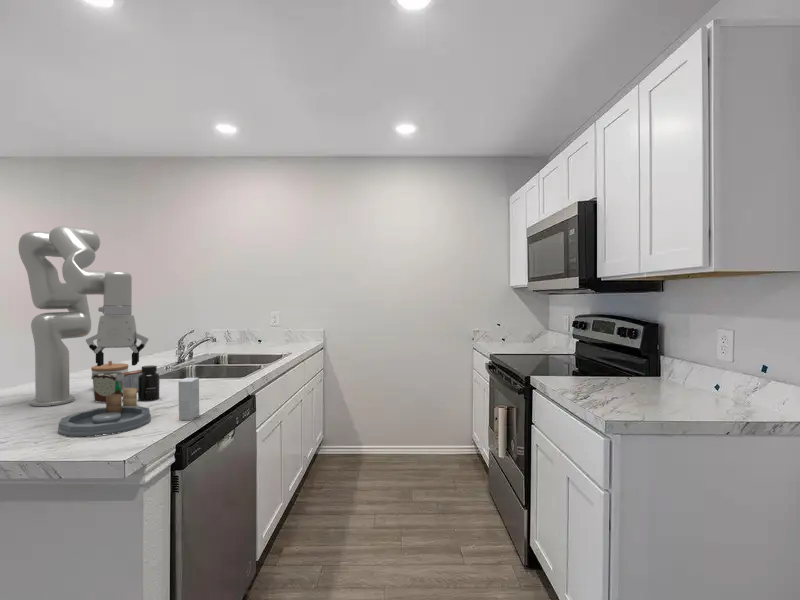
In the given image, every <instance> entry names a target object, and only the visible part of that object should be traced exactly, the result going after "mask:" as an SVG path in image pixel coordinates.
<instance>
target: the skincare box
mask: <svg viewBox="0 0 800 600" xmlns="http://www.w3.org/2000/svg"><path fill="white" fill-rule="evenodd" d="M199 415H200V377H185V378H182V379H180V380H179V381H178V420H179V421H193V420H194V419H195V418H197V417H198V416H199Z"/></svg>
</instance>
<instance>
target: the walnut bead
mask: <svg viewBox="0 0 800 600" xmlns="http://www.w3.org/2000/svg"><path fill="white" fill-rule="evenodd" d="M121 406H122V395H121V394H112V395H107V396H106V403H105V407H106V413H110V412H118V413H121Z"/></svg>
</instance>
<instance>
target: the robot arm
mask: <svg viewBox="0 0 800 600" xmlns="http://www.w3.org/2000/svg"><path fill="white" fill-rule="evenodd" d="M100 245H101V239H100V236H99V235H98V234H97V232H96V231H94V230H93V229H90V228H82V227H74V226H68V225H67V226H66V225H65V226H64V225H62V226H56V227H54V228H52V229H51V231H50V232H49V231H37V230H36V231H27V232H25V233H24V234H23V233H22V235H21V236H20V238H19V241H18V247H17V249H18V254H19V256H20V260H21V262H22V264H23V266H24V268H25V270H26V273H27V279H28V283H29V290H30V296H31V300H32V304H33V306H34V307H35V308H36V309H39V310H67V311H59V312H58V311H56V312H55V311H54V312H51V311H49V312H44V313H40V314H37V315H35V316H33V318H32V319H31V321H30V322H31V323H30V328H31V333H32V338H33V343H34V359H35V360H34V362H35V363H34V369H35V371H34V374H35V378H34V379H35V380H34V381H35V382H34V383H35V384H34V385H35V391H34V392H35V393H34V394H35V398H33V399H31V400H30V401H29V405H30V406H31V405H33V407H50V406H51V405H52V406H57V405H58V406H59V405H64V404H67V403H71V402H74V401H75V400H76V396H75V395H71V394H70V350H69V348H68V346H67V345H66V344H65V343H64V342H63V340H65V339H76V338H84V337H86V336H88V335H89V334H90V333H91V331H92V318H91V313H90V308H89V302H88V297H87V296H89V295H99V296H100V295H101V296H102V295H103V305H102V306H101V307H98V312H101V313H102V314H103V315H100V317H99V318H98V319H99V321H98V327H97V334H95V335H92V336H90V337H88V338H86V339H85V343H86V344H87V346H88V347H89V349H90V350H92V352H93V353H94V354H95V364H96V365H97V366H101V365H103V364H105V363H104V359H105V358H104V357H105V355H104V352H103V350H104V349H109V348H111V349H114V348H117V349H118V348H119V349H121V348H129V349H130V350H131V351H132V353H131V365H132V366H136V365H138V363H139V362H140V352H141V351H142V350H143V349H144V348H145V347H146V345H147V344H148V342H149V338H148V337H146V336H144V335H142V334H140V333H137V323H136V319H135V316H134V315H133V313H132V311H133V310H132V308H133V307H132V302H133V301H132V295H133V294H132V289H133V287H132V286H133V285H132V284H133V283H132V278H133V277H132V275H131V274H130V273H129V272H125V271H123V272H122V271H102V270H100V271H99V270H83V269H85V268H88V267H90V266H91V265H92V264H93V263H94V262H95V260H96V252H97V251H98V250H99V248H100ZM46 257H53V258H63V260H64V262H63V264H62V266H61V270H62V271H61V272H62V277H63V280H64V282H61V281H60V277H59V272H58V269H57V268H56V266H55V265H54V264H53V263H52V262H51V261H50V260H49V259H47V258H46ZM95 340H96V344H95V342H94V341H95ZM138 340H140V341H141V343H140V344H139V345H137V341H138ZM52 406H51V407H52Z"/></svg>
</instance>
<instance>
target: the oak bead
mask: <svg viewBox="0 0 800 600" xmlns="http://www.w3.org/2000/svg"><path fill="white" fill-rule="evenodd" d="M137 399H138V392H137V388H125V389H123V395H122V406H138V403H137Z"/></svg>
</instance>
